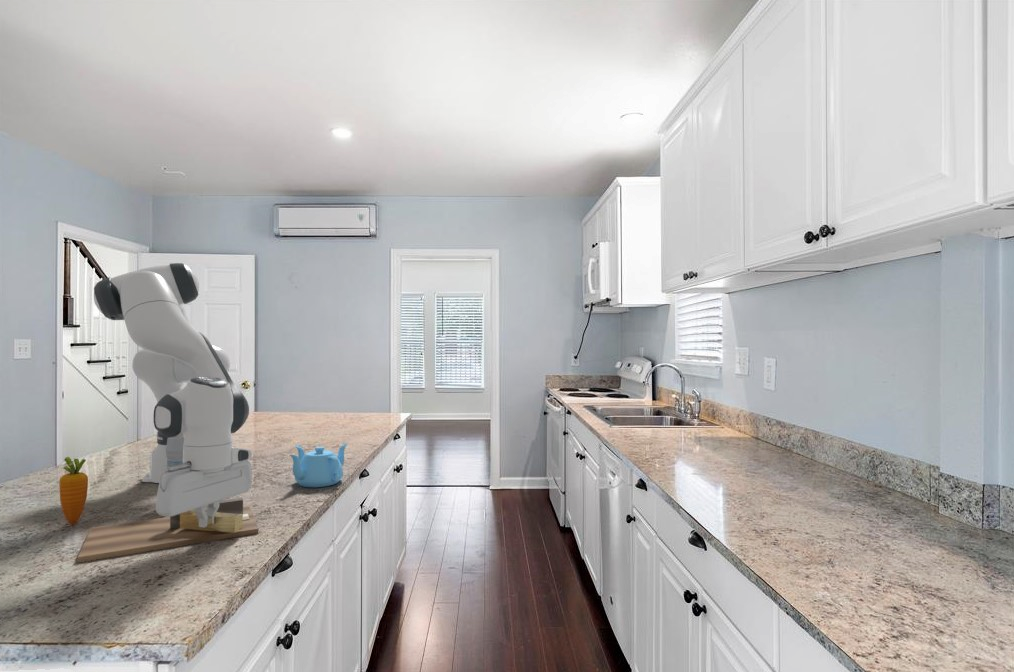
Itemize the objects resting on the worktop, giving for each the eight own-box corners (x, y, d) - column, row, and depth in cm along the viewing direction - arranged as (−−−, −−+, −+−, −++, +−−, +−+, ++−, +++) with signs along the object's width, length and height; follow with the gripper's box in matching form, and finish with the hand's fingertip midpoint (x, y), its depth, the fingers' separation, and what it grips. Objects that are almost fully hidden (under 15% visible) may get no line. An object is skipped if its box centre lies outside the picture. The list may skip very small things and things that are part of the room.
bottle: (181, 508, 129) (182, 425, 129) (157, 506, 130) (159, 424, 130) (202, 500, 135) (203, 421, 136) (179, 498, 137) (181, 420, 137)
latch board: (91, 532, 113) (92, 508, 113) (249, 510, 128) (249, 489, 128) (77, 562, 97) (77, 535, 97) (258, 533, 113) (258, 509, 113)
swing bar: (160, 527, 111) (161, 504, 111) (174, 522, 115) (174, 499, 115) (232, 533, 108) (233, 510, 108) (244, 527, 112) (244, 504, 112)
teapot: (342, 489, 147) (343, 451, 148) (284, 491, 145) (285, 453, 145) (347, 476, 162) (348, 442, 162) (294, 477, 159) (295, 443, 159)
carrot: (93, 523, 118) (94, 455, 118) (68, 530, 113) (69, 459, 114) (77, 521, 120) (78, 453, 120) (52, 528, 115) (53, 458, 115)
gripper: (173, 469, 98) (171, 545, 98) (257, 449, 118) (256, 513, 117) (148, 466, 100) (146, 541, 100) (235, 447, 120) (233, 510, 119)
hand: (206, 525), depth 109 cm, fingers closed
